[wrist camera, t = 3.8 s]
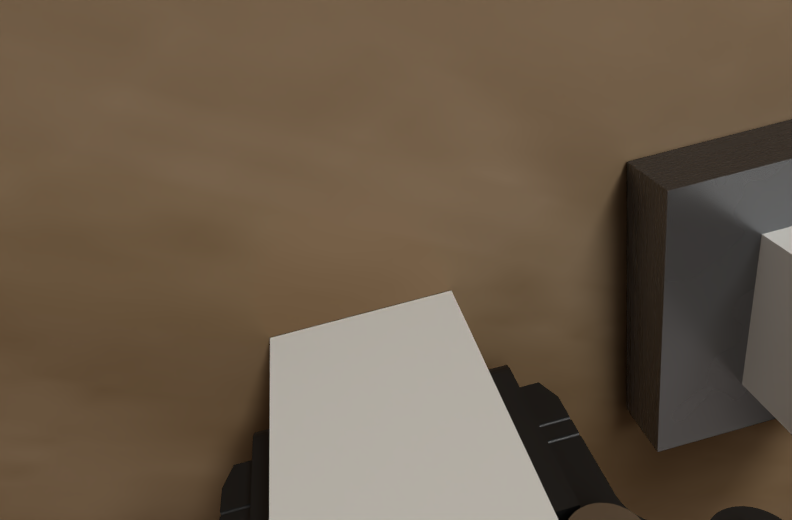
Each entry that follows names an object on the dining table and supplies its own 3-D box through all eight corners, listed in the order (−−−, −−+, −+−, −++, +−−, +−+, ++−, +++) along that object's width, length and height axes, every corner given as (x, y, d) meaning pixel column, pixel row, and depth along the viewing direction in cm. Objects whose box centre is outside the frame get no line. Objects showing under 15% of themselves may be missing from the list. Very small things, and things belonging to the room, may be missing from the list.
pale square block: (270, 338, 13) (268, 700, 7) (451, 290, 13) (597, 604, 7) (324, 479, 15) (356, 840, 9) (477, 437, 16) (604, 764, 10)
